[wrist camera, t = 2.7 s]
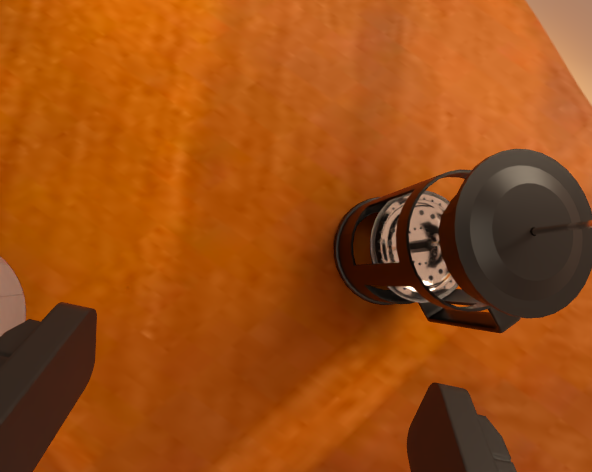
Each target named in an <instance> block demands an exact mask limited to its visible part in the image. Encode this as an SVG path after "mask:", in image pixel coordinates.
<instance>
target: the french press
mask: <svg viewBox="0 0 592 472" xmlns="http://www.w3.org/2000/svg"><path fill="white" fill-rule="evenodd" d="M445 177H460V178H464V179H465V180H464V182H463V184H462V185H461V187H460V189H459V191H458V193H457V195H456V196H455V197H454V198H453V199H452V200H451V201H450V202H449V201H448V200H446V199H445V198H444V197H442V196H440V195H438V194H436V193H433V192H429V191H425V190H426V189H427V188H428V187H429V186H430V185H432V184H433V183H434V182H436V181H437V180H438V179H440V178H445ZM376 212H379V214H378V216H377V218H376V220H375V222H374V225H373V228H372V231H371V237H370V255H371V260H372V264H361V265H356V264H355V259H354V255H353V240H354V233H355V230H356V227H357V226H358V224H359V223H360V222H361V221H362V220H363V219H364V218H366V217H367V216H368V215H370V214H373V213H376ZM334 258H335V262H336V267H337V269H338V272H339V274H340V276H341V278H342V280H343V281H344V283H345V284H346V286H347V287H348V288H349V289H350V290H351V291H352V292H353V293H354V294H356V295H357V296H359V297H360V298H362V299H363V300H366V301H368V302H371V303H375V304H381V305H391V304H410V303H414V302H418V303H419V305H420V307H421V309H422V311H423V313H424V314H425V316H426V318H427V320H428V321H430V322H435V323H441V324H447V325H453V326H459V327H465V328H471V329H478V330H484V331H490V332H496V333H502V332H504V331H506V330H507V329H508V328H510V327H511V326H512V325H513V324H515V323H516V322H517V321H519V320H520V318H521V317H522V318H540V317H544V316H548V315H551V314H554V313H556V312H558V311H559V310H561V309H563V308H564V307H566V306H567V305H568V304H569V303H570V302H571V301H572V300H573V299H574V298H576V297H577V295H578V294H579V292H580V291H581V289H582V288H583V286H584V285H585V283H586V281H587V279H588V276H589V274H590V272H591V268H592V212H591V208H590V206H589V203H588V201H587V199H586V196H585V194H584V192H583V191H582V189H581V187H580V186H579V184H578V182H577V181H576V180H575V178H574V177H573V176H572V175H571V174H570V173H569V172H568V170H567V169H566V168H564V167H563V166H562V165H561V164H559V163H558V162H557V161H556V160H554V159H552V158H550V157H548V156H546V155H545V154H543V153H539V152H536V151H532V150H527V149H512V150H507V151H502V152H499V153H497V154H495V155H492V156H490V157H488V158H486V159H485V160H483V161H482V162H481V163H479V164H478V165H477V166H475V167H474V169H473V170H455V171H450V172H446V173H444V174H441V175H439V176H436V177H433V178H431V179H428V180H425V181H423V182H420V183H417V184H415V185H412V186H410V187H407V188H404V189H402V190H399V191H396V192H394V193H391V194H388V195H386V196H383V197H377V198H372V199H368V200H366V201H363V202H361V203H359V204H358V205H356V206H355V207H353V208H352V209H351V210H350V211H349V212H348V213H347V214H346V215H345V216H344V218H343V220H342V221H341V223H340V225H339V227H338V230H337V233H336V236H335V242H334ZM371 285H376V286H387V287H388V288H389V289H391V290H382V289H377V288H375V287H372V286H371ZM458 285H459V286H460V287H461V289H456V288H457V287H458ZM451 304H458V305H469V306H468V307H456V306H454V305H451ZM485 309H488V310H489V312H490V313H488V312H478V311H482V310H485Z"/></svg>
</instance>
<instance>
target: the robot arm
mask: <svg viewBox="0 0 592 472" xmlns="http://www.w3.org/2000/svg"><path fill="white" fill-rule="evenodd" d="M96 322H97V314H96V310H95V309H92V308H87V307H82V306H78V305H73V304H68V303H63V302H61V303H58V304H57V305H56V306H55V307H54V308H53V309H52V310H51V311H50V313H49V314H48V315H47V316H46V317H45V318H44V319H43V320H42V321H41V322H40V321H35V320H30V319H29V320H27V321H25V322H23V323H21V324H19V325H18V326H16V327H14V328H12V329H10V330H8V331H6V332H5V333H4V334H3V335H2V336H1V337H0V472H33V470H34V469H35V467H36V466H37V464H38V462H39V461H40V459H41V458H42V456H43V454H44V453H45V451H46V450H47V448H48V446H49V445H50V443H51V442H52V440H53V438H54V437H55V435H56V434H57V432H58V430H59V429H60V427H61V426H62V424H63V423H64V421H65V419H66V418H67V416H68V415H69V413H70V411H71V410H72V408H73V407H74V405H75V403H76V402H77V400H78V399H79V397H80V395H81V394H82V392H83V391H84V389H85V387H86V386H87V384H88V382H89V379H90V377H91V374H92V371H93V368H94V363H95V348H96ZM407 453H408V459H409V464H410V469H411V472H517V471H516V469H515V467H514V464H513V463H512V462H511V457H510V455H509V452H508V450H507V448H506V445H505V443H504V441H503V438H502V436H501V435H500V434H499V433H498V431H497V430H496V429H495V428H494V426H493V425H492V424H491V423H490V421H489V420H488V419H487V418H486V416H482V415H477V413H476V410H475V408H474V405H473V403H472V400H471V397H470V395H469V393H468V391H467V390H465V389H463V388H458V387H453V386H448V385H444V384H439V383H432V384H431V385H430V386H429V388H428V390H427V392H426V394H425V396H424V398H423V400H422V402H421V404H420V407H419V409H418V411H417V413H416V415H415V417H414V419H413V421H412V423H411V425H410V428H409V432H408V437H407Z"/></svg>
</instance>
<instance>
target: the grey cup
mask: <svg viewBox="0 0 592 472" xmlns="http://www.w3.org/2000/svg"><path fill="white" fill-rule="evenodd" d="M25 320H26V305H25V298H24V294H23V290H22V287H21V285H20V282H19V280H18V278H17V276H16V275H15V273H14V271H13V270H12V269H11V267H10V266H9V265H8V264H7V262H6V261H5V260H4V259H3V258H2V257H0V337H1V336H2V335H3V334H4V333H5V332H6V331H8V330H10V329H12V328H14V327H16V326H18V325H19V324H21V323H23V322H25Z"/></svg>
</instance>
